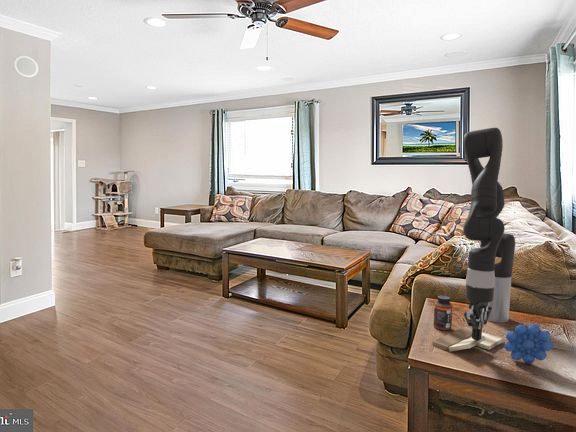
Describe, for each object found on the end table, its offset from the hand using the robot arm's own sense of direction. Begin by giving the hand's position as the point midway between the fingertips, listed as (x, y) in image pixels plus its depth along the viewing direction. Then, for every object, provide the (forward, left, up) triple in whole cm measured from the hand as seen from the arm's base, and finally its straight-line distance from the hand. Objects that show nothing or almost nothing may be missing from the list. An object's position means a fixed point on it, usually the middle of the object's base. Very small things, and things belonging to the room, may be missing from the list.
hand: (476, 339), depth 110 cm
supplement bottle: (-11, -17, -5) cm, 21 cm away
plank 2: (-11, -2, -5) cm, 12 cm away
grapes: (-8, +11, -5) cm, 14 cm away
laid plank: (-5, -9, -5) cm, 11 cm away
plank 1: (0, -2, -3) cm, 4 cm away
